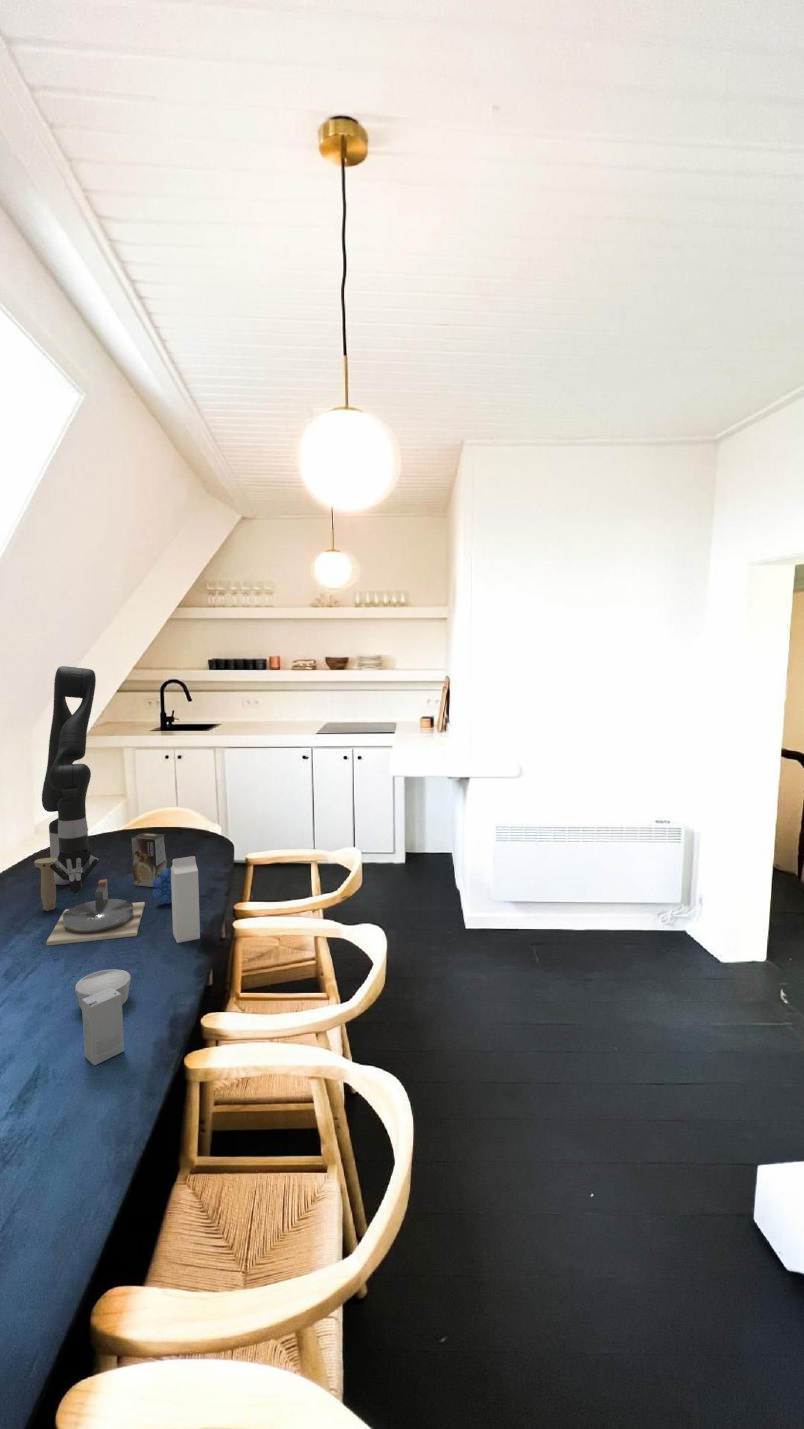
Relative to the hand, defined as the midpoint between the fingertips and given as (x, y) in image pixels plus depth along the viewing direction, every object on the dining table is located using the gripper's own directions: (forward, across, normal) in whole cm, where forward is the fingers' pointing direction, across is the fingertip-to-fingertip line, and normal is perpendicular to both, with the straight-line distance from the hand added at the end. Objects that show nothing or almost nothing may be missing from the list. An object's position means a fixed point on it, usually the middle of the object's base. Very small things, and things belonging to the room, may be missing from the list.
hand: (76, 892), depth 188 cm
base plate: (+8, +6, -6) cm, 12 cm away
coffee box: (+8, +20, +22) cm, 31 cm away
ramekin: (+8, +10, -52) cm, 53 cm away
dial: (+6, +6, -6) cm, 11 cm away
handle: (+8, -8, +10) cm, 15 cm away
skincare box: (+9, +11, -72) cm, 73 cm away
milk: (+8, +29, -24) cm, 38 cm away
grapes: (+8, +26, +3) cm, 27 cm away
